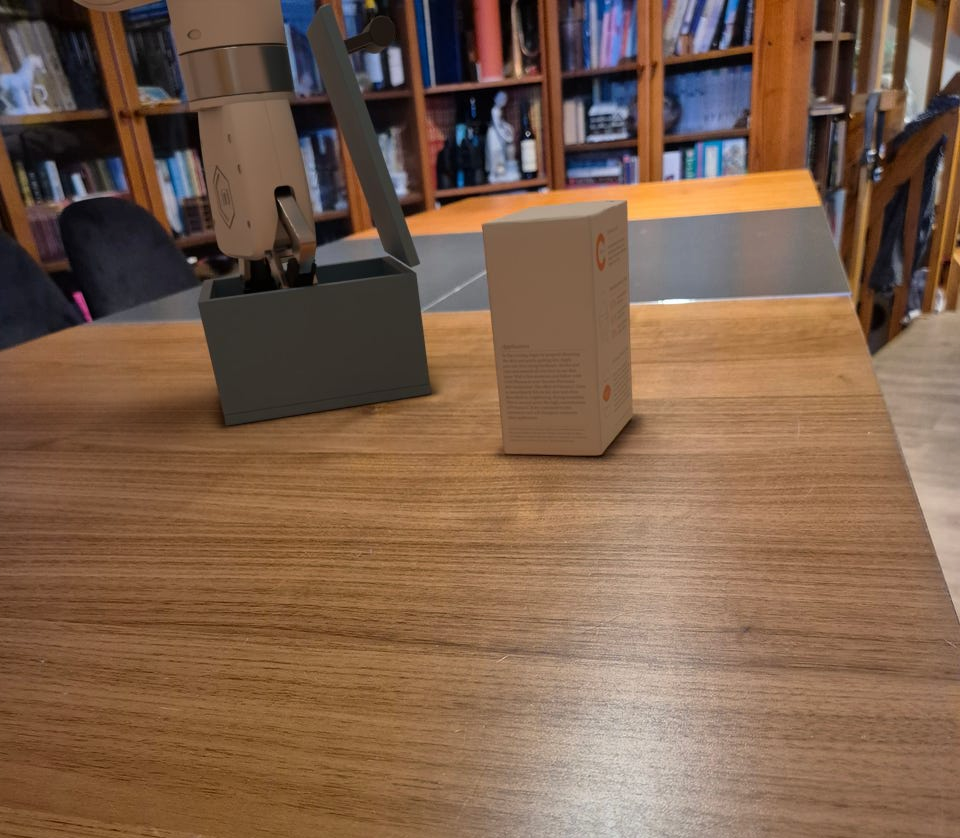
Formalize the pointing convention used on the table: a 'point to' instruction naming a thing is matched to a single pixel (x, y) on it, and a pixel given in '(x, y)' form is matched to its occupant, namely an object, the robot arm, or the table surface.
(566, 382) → the small box
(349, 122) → the cool box lid
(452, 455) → the table surface
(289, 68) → the robot arm
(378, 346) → the cool box
